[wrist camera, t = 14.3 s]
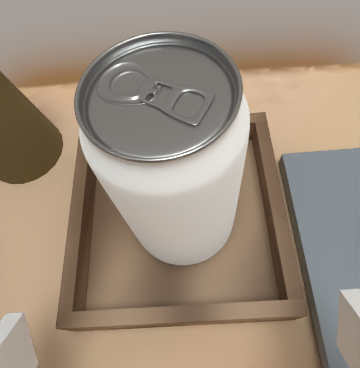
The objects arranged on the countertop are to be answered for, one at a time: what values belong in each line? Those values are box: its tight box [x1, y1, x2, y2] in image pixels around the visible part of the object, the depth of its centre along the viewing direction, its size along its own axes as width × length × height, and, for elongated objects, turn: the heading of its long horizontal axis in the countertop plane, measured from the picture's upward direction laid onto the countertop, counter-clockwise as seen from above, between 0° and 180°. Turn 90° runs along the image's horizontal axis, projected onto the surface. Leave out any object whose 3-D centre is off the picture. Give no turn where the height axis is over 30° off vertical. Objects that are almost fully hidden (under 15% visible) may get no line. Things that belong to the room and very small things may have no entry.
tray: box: [56, 112, 307, 331], centre depth 21 cm, size 13×13×3 cm
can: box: [74, 31, 250, 265], centre depth 16 cm, size 6×6×12 cm
